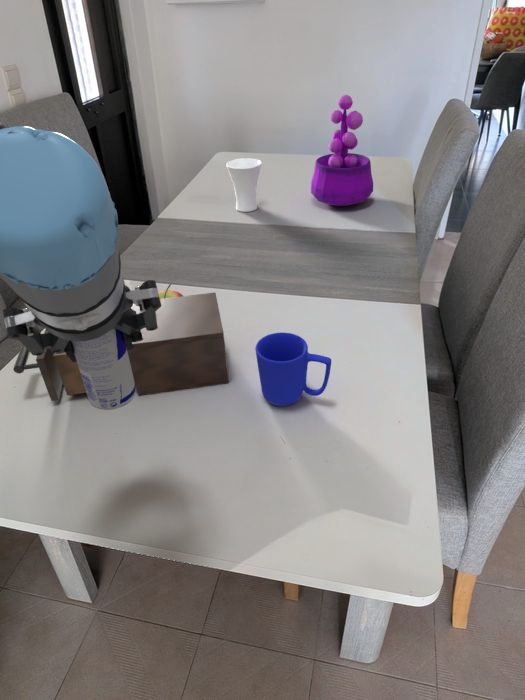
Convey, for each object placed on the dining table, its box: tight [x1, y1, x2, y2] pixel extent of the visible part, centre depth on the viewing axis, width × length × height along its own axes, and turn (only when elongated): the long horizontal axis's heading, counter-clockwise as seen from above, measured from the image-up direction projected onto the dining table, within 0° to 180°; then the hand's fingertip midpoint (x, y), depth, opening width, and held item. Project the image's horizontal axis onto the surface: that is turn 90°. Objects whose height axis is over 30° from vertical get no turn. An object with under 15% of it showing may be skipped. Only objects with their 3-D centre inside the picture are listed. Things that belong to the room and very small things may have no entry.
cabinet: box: [127, 292, 230, 397], centre depth 91 cm, size 16×14×11 cm
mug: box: [254, 332, 332, 407], centre depth 83 cm, size 8×12×10 cm
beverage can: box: [71, 328, 137, 411], centre depth 58 cm, size 6×6×15 cm
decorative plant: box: [310, 94, 374, 207], centre depth 150 cm, size 19×18×30 cm
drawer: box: [13, 328, 136, 402], centre depth 89 cm, size 20×12×9 cm, turn 100°
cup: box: [225, 157, 262, 213], centre depth 154 cm, size 10×10×14 cm
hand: (101, 344), depth 62 cm, fingers closed on beverage can, 6 cm apart
